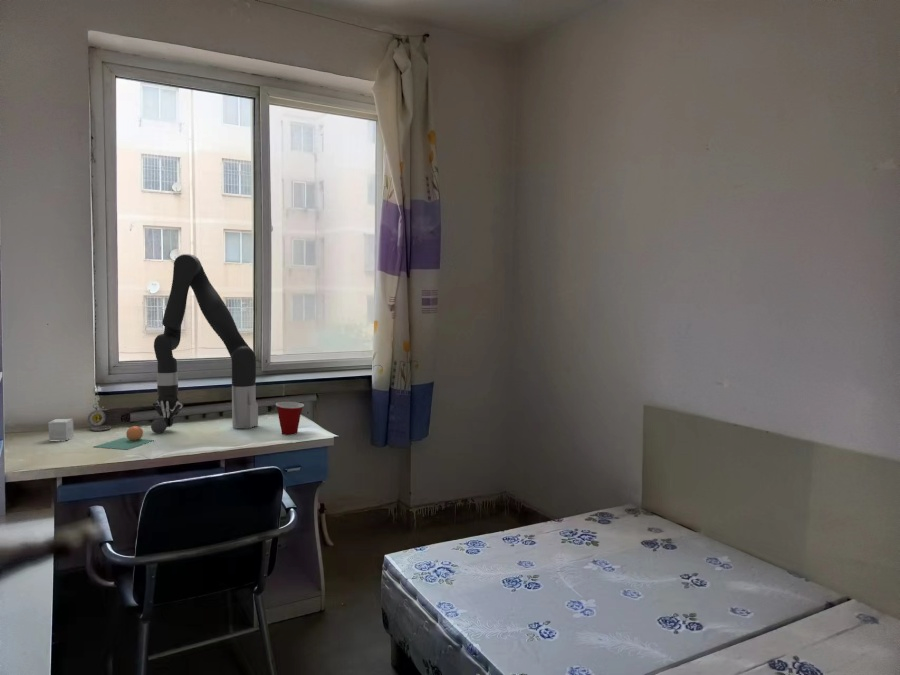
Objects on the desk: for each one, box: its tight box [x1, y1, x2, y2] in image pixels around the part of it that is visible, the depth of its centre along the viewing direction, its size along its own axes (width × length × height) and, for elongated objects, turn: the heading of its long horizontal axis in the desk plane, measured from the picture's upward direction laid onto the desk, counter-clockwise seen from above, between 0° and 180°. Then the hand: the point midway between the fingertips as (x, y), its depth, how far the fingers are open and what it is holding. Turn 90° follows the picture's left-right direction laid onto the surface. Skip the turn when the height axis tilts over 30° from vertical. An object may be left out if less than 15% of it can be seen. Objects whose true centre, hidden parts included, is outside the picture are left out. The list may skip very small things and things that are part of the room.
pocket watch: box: [87, 403, 112, 432], centre depth 240 cm, size 8×8×10 cm
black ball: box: [150, 418, 168, 434], centre depth 234 cm, size 6×6×6 cm
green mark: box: [93, 437, 155, 451], centre depth 218 cm, size 14×14×1 cm
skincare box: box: [47, 418, 75, 442], centre depth 223 cm, size 6×6×7 cm
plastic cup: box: [275, 401, 305, 435], centre depth 236 cm, size 11×11×12 cm
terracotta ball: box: [125, 425, 144, 441], centre depth 222 cm, size 6×6×6 cm
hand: (168, 426), depth 240 cm, fingers closed
